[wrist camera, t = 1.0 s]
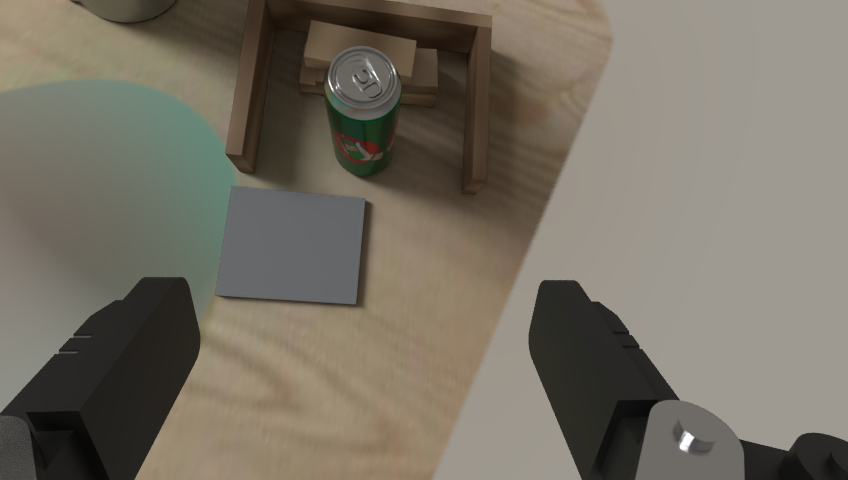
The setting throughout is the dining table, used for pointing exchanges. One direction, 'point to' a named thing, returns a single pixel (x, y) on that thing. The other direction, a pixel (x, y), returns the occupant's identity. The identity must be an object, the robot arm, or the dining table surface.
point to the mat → (291, 246)
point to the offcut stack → (408, 60)
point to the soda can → (362, 108)
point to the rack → (368, 10)
